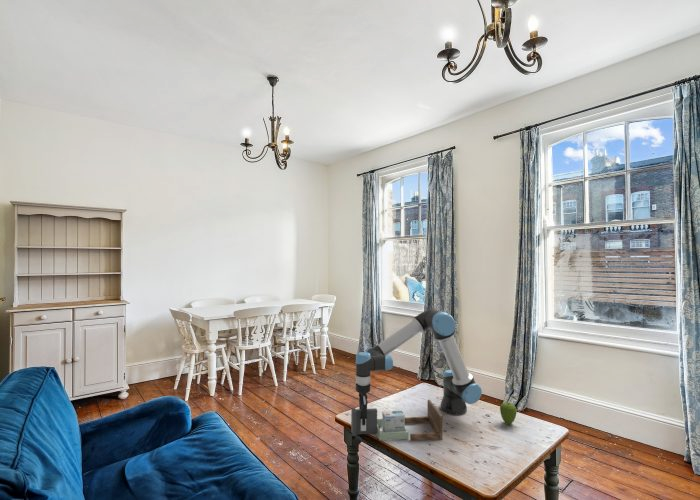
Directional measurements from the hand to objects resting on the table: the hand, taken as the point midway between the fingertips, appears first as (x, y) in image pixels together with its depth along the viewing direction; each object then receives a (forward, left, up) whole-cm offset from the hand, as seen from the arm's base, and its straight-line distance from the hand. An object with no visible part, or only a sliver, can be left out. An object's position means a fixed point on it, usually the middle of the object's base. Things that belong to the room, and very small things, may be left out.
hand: (362, 428), depth 186 cm
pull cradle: (-8, 0, -2) cm, 8 cm away
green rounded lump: (-81, -3, -3) cm, 81 cm away
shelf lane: (-31, 0, -3) cm, 31 cm away
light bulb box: (-16, +1, -3) cm, 16 cm away
